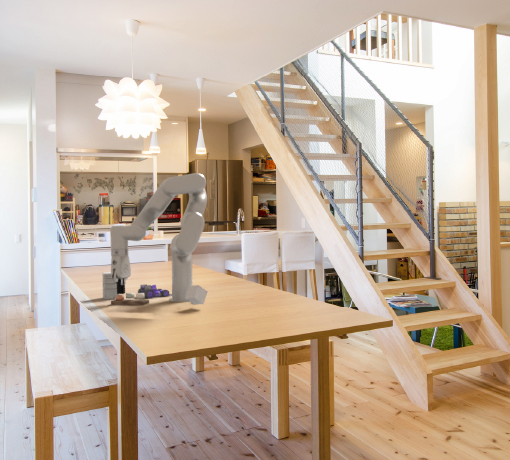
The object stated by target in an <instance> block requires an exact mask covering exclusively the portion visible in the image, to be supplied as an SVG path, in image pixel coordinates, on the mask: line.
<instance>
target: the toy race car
mask: <svg viewBox="0 0 510 460" xmlns="http://www.w3.org/2000/svg"><path fill="white" fill-rule="evenodd" d="M139 286H140V287H139V289H138V290H137V293H144V297H145V298H144V299H146V300H149V299H154V298H163V297H164V298H166V297H172V293H170V291H169V290H168V289H162V288H157V285H156V284H152V285H151V284H140V285H139Z"/></svg>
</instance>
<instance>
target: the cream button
mask: <svg viewBox="0 0 510 460" xmlns="http://www.w3.org/2000/svg"><path fill="white" fill-rule="evenodd" d="M135 295H136V296H135V299H136V300H143V299H146V298H145V297H144V293H138V292H137V293H135Z"/></svg>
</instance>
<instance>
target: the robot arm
mask: <svg viewBox="0 0 510 460" xmlns="http://www.w3.org/2000/svg"><path fill="white" fill-rule="evenodd" d="M206 186H207V180H206V177H205V176H204V175H203V174H201V173H198V172H196V173H189V174H184V175H183V174H182V175H178V176H177V175H176V176H170V177H168V178H166V179H164V180H163V181H162V182H161V184H160V185H159V186H158V187H157V189H156V190H155V192H154V193H153V194H152V196H151V197H150V198H149V200H148V201H147V203H145V205H144V207H142V209H141V211H140V212H139V214H138V215H137V216H136V217H135V219H134V220H133V221H132V223H131V224H130V225H112V226H111V227H110V230H109V231H110V232H109V234H110V256H111V258H110V259H111V260H110V272H111V277H112V278H113V281H114V282H116V285H117V294H119V295H124V294H125V295H126V282H127V280H128V278H130V277H131V275H132V274H131V262H130V257H129V241H131V242H132V241H133V242H140V241H142V240H143V239H144V238H145V237H146V235H147V233H146V232H147V231H148V229H149V228H150V226H151V225H152V224H153V223H154V222H155V221H156V220H157V219H158V218H160V217H161V216H162V215H163V214H164V212H165V210H167V208H168V206H169V205H170V204H171V202H172V201H173V200H174V199H175V198H176V196H177V195H178V196H179V195H185V194H186V195H187V194H188V197H189V198H188V203H187V205H186V208H185V211H184V212H183V215H182V216H181V219H180V227H181V228H180V230H179V233H178V234H176V235H174V237H172V239H171V242H170V255H171V256H170V257H171V288H172V289H171V294H172V296H171V298H169V299H168V301H169V302H173V303H186V302H189V301H188V300H186V299H185V297H186V294H187V291H188V288H189V286H193V255H192V253H193V252H194V251H195V250H196V249H197V247H198V243H199V241H200V238H201V237H202V233H203V231H204V228H205V224H206V223H205V218H204V213H205V210H206V208H207V203H208V195H207V191H206V189H205V188H206Z"/></svg>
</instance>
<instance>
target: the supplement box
mask: <svg viewBox="0 0 510 460" xmlns="http://www.w3.org/2000/svg"><path fill="white" fill-rule="evenodd" d="M116 295H120V294H117V285H116V282H114V281H113V278H112V277H111V271H108V272H107V271H106V272H102V298H103V300H104V301H105V300H116Z"/></svg>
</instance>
